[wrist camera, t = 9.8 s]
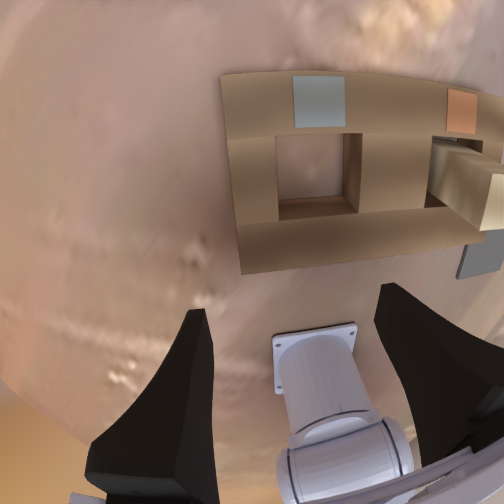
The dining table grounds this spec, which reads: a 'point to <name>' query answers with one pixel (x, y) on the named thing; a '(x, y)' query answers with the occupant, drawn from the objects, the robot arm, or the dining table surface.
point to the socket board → (349, 164)
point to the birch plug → (467, 183)
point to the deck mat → (483, 255)
